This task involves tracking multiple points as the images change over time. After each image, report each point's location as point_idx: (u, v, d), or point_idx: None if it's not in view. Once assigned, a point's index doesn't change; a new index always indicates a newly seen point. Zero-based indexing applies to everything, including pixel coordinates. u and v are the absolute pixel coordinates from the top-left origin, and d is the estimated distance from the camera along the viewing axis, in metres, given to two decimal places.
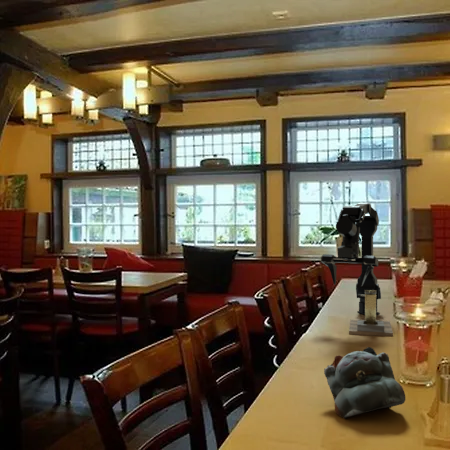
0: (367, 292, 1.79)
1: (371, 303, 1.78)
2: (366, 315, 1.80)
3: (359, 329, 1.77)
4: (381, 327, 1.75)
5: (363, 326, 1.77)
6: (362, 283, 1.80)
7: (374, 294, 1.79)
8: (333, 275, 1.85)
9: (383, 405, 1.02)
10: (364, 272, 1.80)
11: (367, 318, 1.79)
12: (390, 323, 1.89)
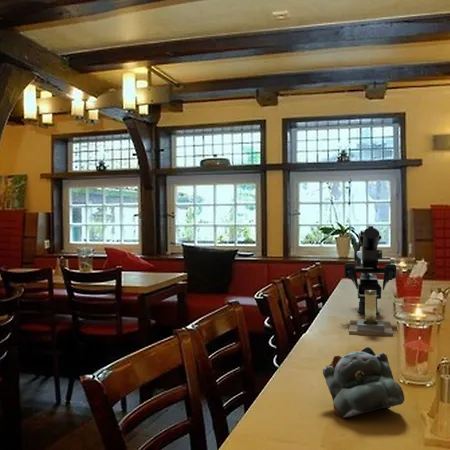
0: (367, 292, 1.79)
1: (371, 303, 1.78)
2: (366, 315, 1.80)
3: (359, 329, 1.77)
4: (381, 327, 1.75)
5: (363, 326, 1.77)
6: (384, 286, 1.94)
7: (374, 294, 1.79)
8: (356, 280, 1.97)
9: (382, 405, 1.02)
10: (386, 277, 1.95)
11: (367, 318, 1.79)
12: (390, 323, 1.89)
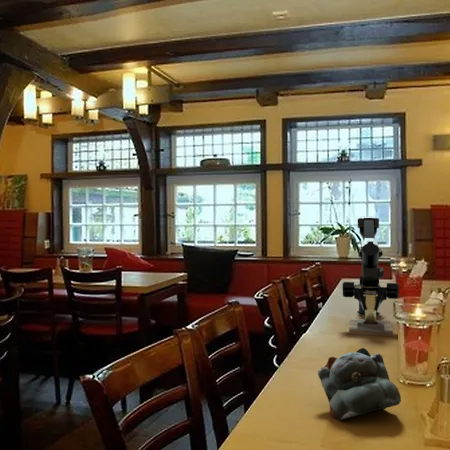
0: (367, 292, 1.79)
1: (371, 303, 1.78)
2: (366, 315, 1.80)
3: (359, 329, 1.77)
4: (381, 327, 1.75)
5: (363, 326, 1.77)
6: (378, 307, 1.79)
7: (374, 294, 1.79)
8: (363, 301, 1.81)
9: (379, 407, 1.01)
10: (379, 297, 1.80)
11: (367, 318, 1.79)
12: (390, 323, 1.89)
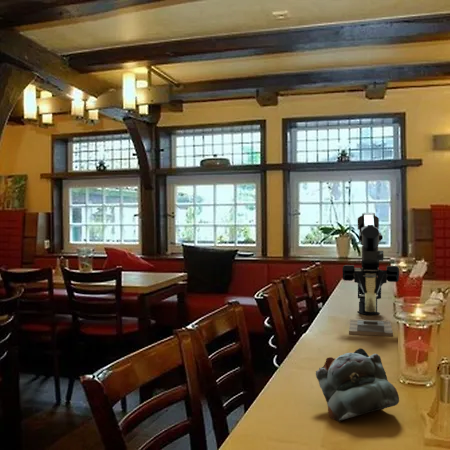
0: (367, 275, 1.79)
1: (371, 285, 1.78)
2: (366, 298, 1.79)
3: (359, 329, 1.77)
4: (381, 327, 1.75)
5: (363, 326, 1.77)
6: (378, 290, 1.78)
7: (374, 277, 1.78)
8: (363, 284, 1.81)
9: (378, 407, 1.01)
10: (379, 280, 1.80)
11: (367, 301, 1.79)
12: (390, 323, 1.89)
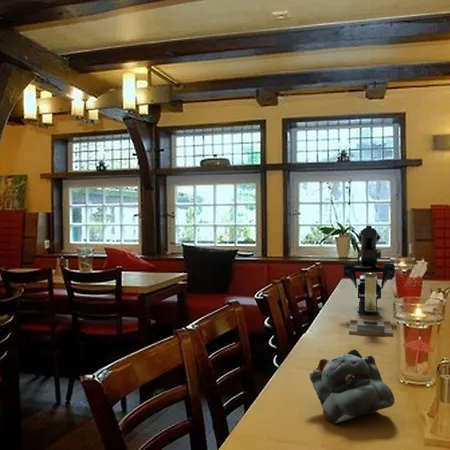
0: (367, 275, 1.79)
1: (371, 285, 1.78)
2: (366, 298, 1.79)
3: (359, 329, 1.77)
4: (381, 327, 1.75)
5: (363, 326, 1.77)
6: (383, 285, 1.96)
7: (374, 277, 1.78)
8: (355, 279, 1.99)
9: (375, 409, 1.00)
10: (384, 276, 1.97)
11: (367, 301, 1.79)
12: (390, 323, 1.89)
